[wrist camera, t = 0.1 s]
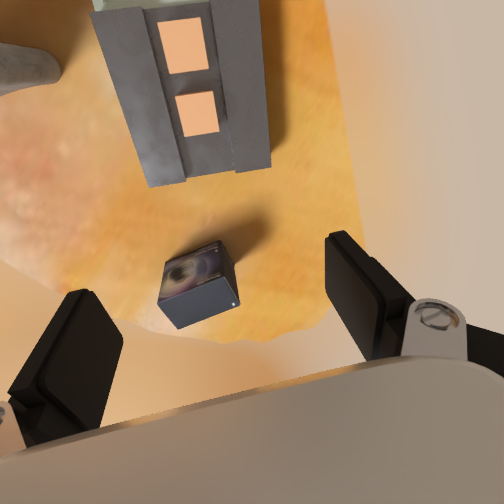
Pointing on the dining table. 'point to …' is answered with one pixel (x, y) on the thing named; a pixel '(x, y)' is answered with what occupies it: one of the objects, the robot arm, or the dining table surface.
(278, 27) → the dining table surface
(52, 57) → the hip flask
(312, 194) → the dining table surface
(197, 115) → the chip
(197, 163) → the slot block
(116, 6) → the tray
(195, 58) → the chip
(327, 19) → the dining table surface
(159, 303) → the small box
